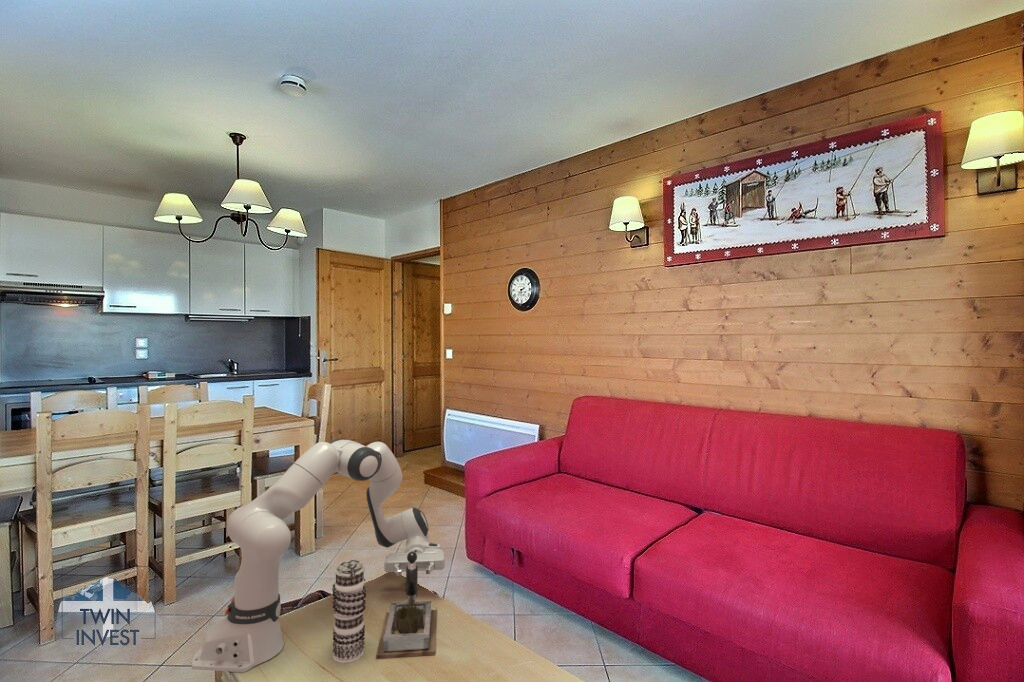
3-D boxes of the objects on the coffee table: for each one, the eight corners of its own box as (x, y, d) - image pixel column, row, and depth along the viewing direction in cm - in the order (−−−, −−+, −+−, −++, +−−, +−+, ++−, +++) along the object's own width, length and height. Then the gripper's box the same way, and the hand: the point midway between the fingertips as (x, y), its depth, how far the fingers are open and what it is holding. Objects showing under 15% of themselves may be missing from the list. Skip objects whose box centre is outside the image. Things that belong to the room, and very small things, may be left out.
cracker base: (376, 659, 135) (376, 637, 135) (386, 615, 156) (386, 596, 156) (434, 655, 137) (435, 633, 137) (436, 612, 158) (437, 594, 158)
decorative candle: (328, 648, 139) (330, 560, 139) (362, 639, 143) (363, 554, 143) (333, 667, 131) (335, 574, 131) (369, 657, 135) (370, 567, 135)
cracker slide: (383, 651, 136) (384, 582, 136) (391, 610, 157) (392, 550, 157) (428, 648, 138) (429, 580, 138) (431, 608, 158) (432, 548, 158)
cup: (415, 648, 140) (415, 620, 140) (391, 644, 141) (391, 616, 141) (424, 632, 147) (425, 606, 147) (401, 629, 149) (402, 603, 149)
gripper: (386, 546, 173) (381, 564, 159) (445, 544, 175) (444, 561, 162) (386, 564, 173) (380, 584, 159) (444, 561, 175) (444, 580, 162)
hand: (413, 572), depth 160 cm, fingers open, 8 cm apart
